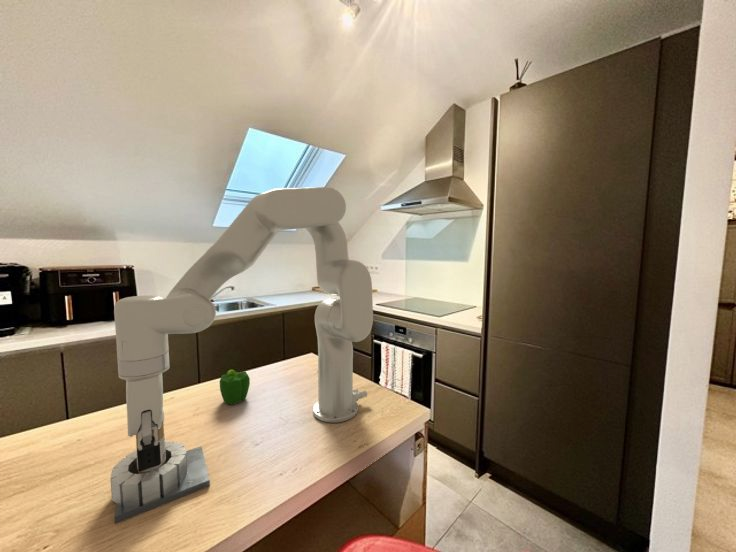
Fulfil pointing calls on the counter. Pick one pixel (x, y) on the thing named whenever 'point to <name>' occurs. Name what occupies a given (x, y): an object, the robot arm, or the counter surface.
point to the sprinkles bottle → (162, 446)
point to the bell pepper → (234, 386)
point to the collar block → (157, 480)
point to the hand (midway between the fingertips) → (150, 451)
